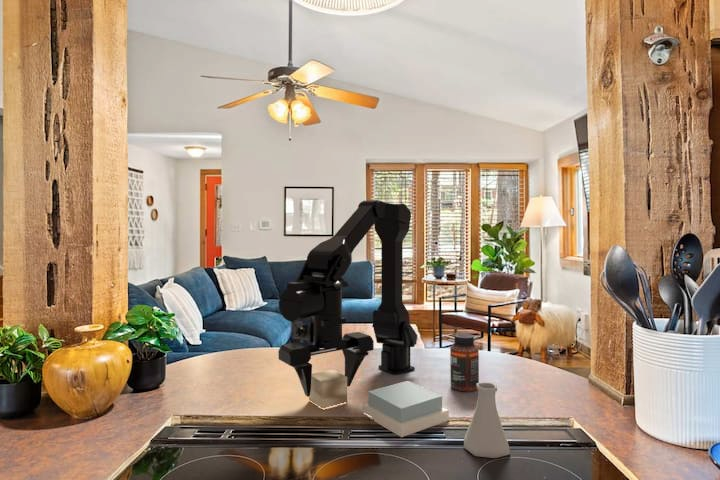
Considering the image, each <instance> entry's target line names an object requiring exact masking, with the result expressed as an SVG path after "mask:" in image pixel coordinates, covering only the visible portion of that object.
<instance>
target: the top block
mask: <svg viewBox="0 0 720 480" xmlns="http://www.w3.org/2000/svg"><path fill="white" fill-rule="evenodd" d="M367 399H368V400H367V403H368V405H370V406H372V407H373V408H375V409H377V410H379V411H380V412H382V413H384V414H386V415H387V416H389V417H391V418H393V419H395V420H396V421H398V422H400V423H404V422H407V421H410V420H413V419H416V418H419V417H422V416H425V415H428V414H431V413H434V412H437V411H440V410H442V407H443V395H441V394H439V393H437V392H434V391H432V390H430V389H427V388H426V387H422V386H421V385H418V384H416V383H414V382H411V381H409V380H405V381H401V382H398V383H394V384H391V385H387V386H384V387H383V386H382V387H379V388H375V389H371V390H368V391H367Z"/></svg>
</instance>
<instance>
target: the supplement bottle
mask: <svg viewBox="0 0 720 480" xmlns="http://www.w3.org/2000/svg"><path fill="white" fill-rule="evenodd" d="M474 339H475V337H474V334H470V333H466V332H465V333H464V332H463V333H455V335H454V343H453V344H452V345H451V346H450V348H449V349H450V353H449V354H450V362H449V363H450V364H449V365H450V366H449V368H450V376H449V377H450V386H451V388H452V389H453V390H455V391H460V392H474V391H476V390H477V383H480V382H479V381H480V377H479V376H480V372H479V371H480V369H479V368H480V366H479V362H480V359H479V357H480V356H479V348H478V346H477V345H476V344H475V343H474V342H475V340H474Z"/></svg>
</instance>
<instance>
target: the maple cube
mask: <svg viewBox="0 0 720 480" xmlns="http://www.w3.org/2000/svg"><path fill="white" fill-rule="evenodd" d="M309 400H310V401H312V402H313V403H315V404H317V405H318V406H320V407H321V408H326V407H329V406H333V405H337V404H340V403H344V402H347V403H348V386H347V376H345V374H343V373H340V372H339V371H336V370H335V369H328V370H324V371H323V370H322V371H319V372H314V373H312V377H311V391H310V396H309V397H308V401H309Z"/></svg>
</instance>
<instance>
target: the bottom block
mask: <svg viewBox="0 0 720 480" xmlns="http://www.w3.org/2000/svg"><path fill="white" fill-rule="evenodd" d="M363 412H364V413H366V414H368V415H370V416H372V418H373V419H374V421H373V422H375V423H376V424H378V425H380V426H382V427H384V428H385V429H387V430H389V431H390V432H391V433H393V434H396V435H397V436H398V437H399V438H403V437H404V438H405V436H409V435H412V434H415V433H417V432H420V431H423V430H426V429H429V428H432V427H435V426H437V425H440V424H443V423H445V422H446V423H447V422H448V421H450V420H449V419H450V413H449V412H450V410H449V409H447V408H445V407H443V406H442V410H440V411H437V412H434V413H431V414H428V415H425V416H422V417H419V418H416V419H413V420H410V421H407V422H404V423H400V422H398V421H396V420H395V419H393V418H391V417H389V416H387V415H386V414H384V413H382V412H380V411H379V410H377V409H375V408H373V407H372V406H370V405H368V402H367V403H363V404H362V413H363Z"/></svg>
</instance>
